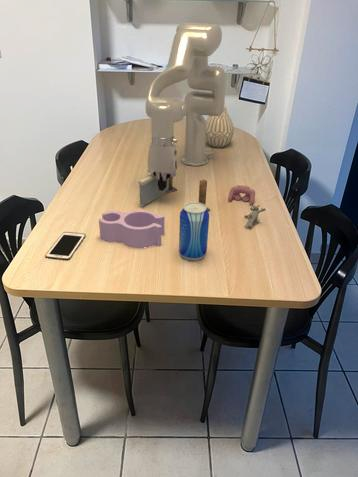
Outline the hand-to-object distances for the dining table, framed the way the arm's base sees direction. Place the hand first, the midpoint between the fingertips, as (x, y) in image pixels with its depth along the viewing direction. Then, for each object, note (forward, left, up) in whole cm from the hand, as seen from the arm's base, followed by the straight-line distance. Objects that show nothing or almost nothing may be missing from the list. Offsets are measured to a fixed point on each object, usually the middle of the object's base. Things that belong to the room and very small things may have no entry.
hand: (162, 189), depth 145 cm
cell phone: (+41, +9, -6) cm, 43 cm away
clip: (+22, +15, -6) cm, 27 cm away
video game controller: (-27, +15, -6) cm, 31 cm away
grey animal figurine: (-18, +30, -6) cm, 36 cm away
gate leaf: (+1, -4, -4) cm, 6 cm away
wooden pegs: (-9, +2, -6) cm, 11 cm away
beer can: (+11, +34, -6) cm, 36 cm away
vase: (-62, -41, -6) cm, 74 cm away
